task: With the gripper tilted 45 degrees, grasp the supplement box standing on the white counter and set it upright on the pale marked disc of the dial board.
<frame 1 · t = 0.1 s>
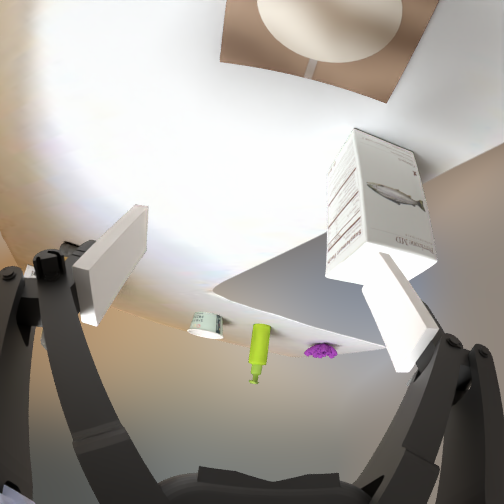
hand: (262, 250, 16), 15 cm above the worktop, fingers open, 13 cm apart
food container: (208, 315, 96), on the worktop
soap dispenser: (261, 325, 98), on the worktop
supplement box: (368, 159, 28), on the worktop
dial board: (329, 1, 14), on the worktop
purple coral: (322, 343, 117), on the worktop
light bulb box: (36, 270, 87), on the worktop
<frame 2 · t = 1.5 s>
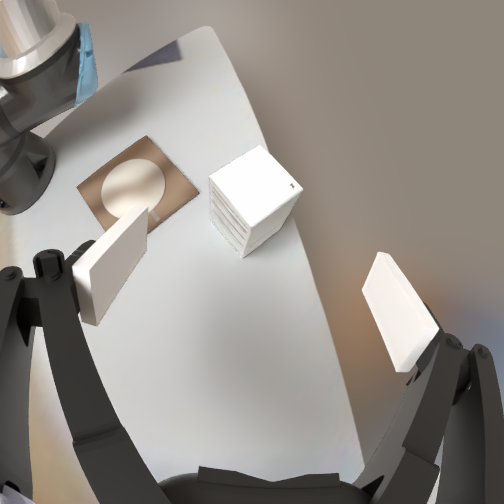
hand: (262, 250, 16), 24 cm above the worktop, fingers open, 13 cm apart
supplement box: (244, 225, 42), on the worktop
dial board: (134, 191, 41), on the worktop
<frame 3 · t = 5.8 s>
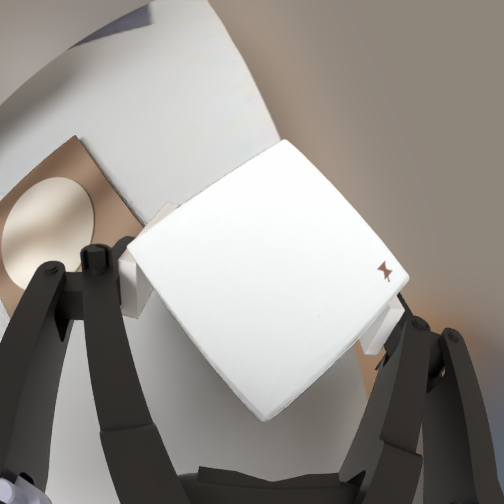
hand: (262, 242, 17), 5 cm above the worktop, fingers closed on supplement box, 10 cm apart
supplement box: (244, 306, 21), on the worktop, touching gripper
dial board: (49, 236, 21), on the worktop
when the fingers open (8 cm above the worktop, at t = 13.8 s): supplement box drops 1 cm, resting on arm, dial board.
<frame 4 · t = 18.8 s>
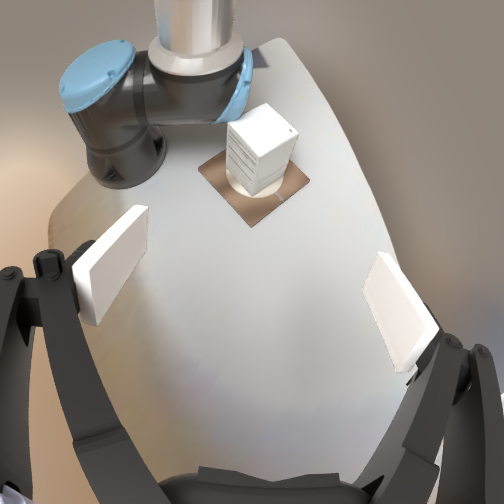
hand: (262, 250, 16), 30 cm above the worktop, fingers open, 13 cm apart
supplement box: (254, 172, 50), point 1 cm above the worktop, touching arm, dial board
dial board: (254, 175, 51), on the worktop
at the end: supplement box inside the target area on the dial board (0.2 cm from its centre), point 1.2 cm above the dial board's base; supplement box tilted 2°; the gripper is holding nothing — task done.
